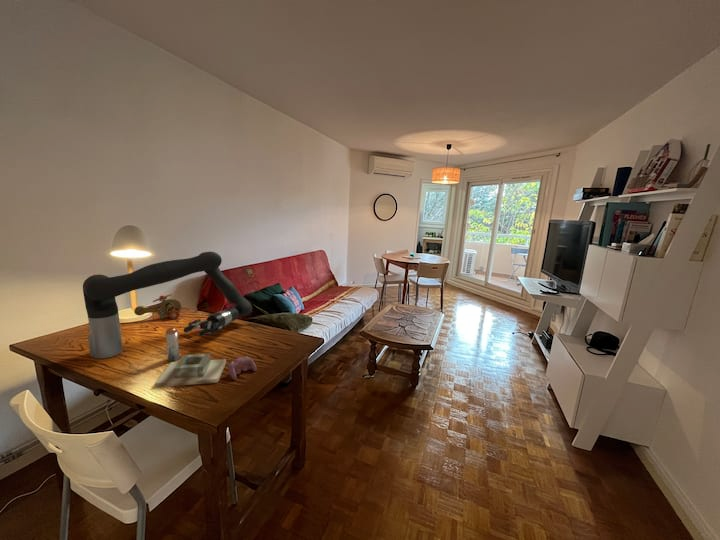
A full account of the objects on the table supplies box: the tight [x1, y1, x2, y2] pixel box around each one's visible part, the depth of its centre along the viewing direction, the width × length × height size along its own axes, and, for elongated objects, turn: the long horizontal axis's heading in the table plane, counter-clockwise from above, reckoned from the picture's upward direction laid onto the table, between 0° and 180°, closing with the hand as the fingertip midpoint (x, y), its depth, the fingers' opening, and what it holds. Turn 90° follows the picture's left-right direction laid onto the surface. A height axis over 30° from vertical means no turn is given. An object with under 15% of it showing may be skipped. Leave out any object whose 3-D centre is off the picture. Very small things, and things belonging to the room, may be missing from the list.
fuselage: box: [165, 327, 180, 363], centre depth 116 cm, size 4×4×14 cm
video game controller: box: [227, 356, 257, 381], centre depth 111 cm, size 10×5×7 cm, turn 141°
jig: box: [154, 353, 227, 388], centre depth 108 cm, size 20×14×6 cm
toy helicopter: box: [133, 293, 182, 320], centre depth 153 cm, size 8×21×14 cm, turn 123°
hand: (192, 332), depth 124 cm, fingers open, 8 cm apart
